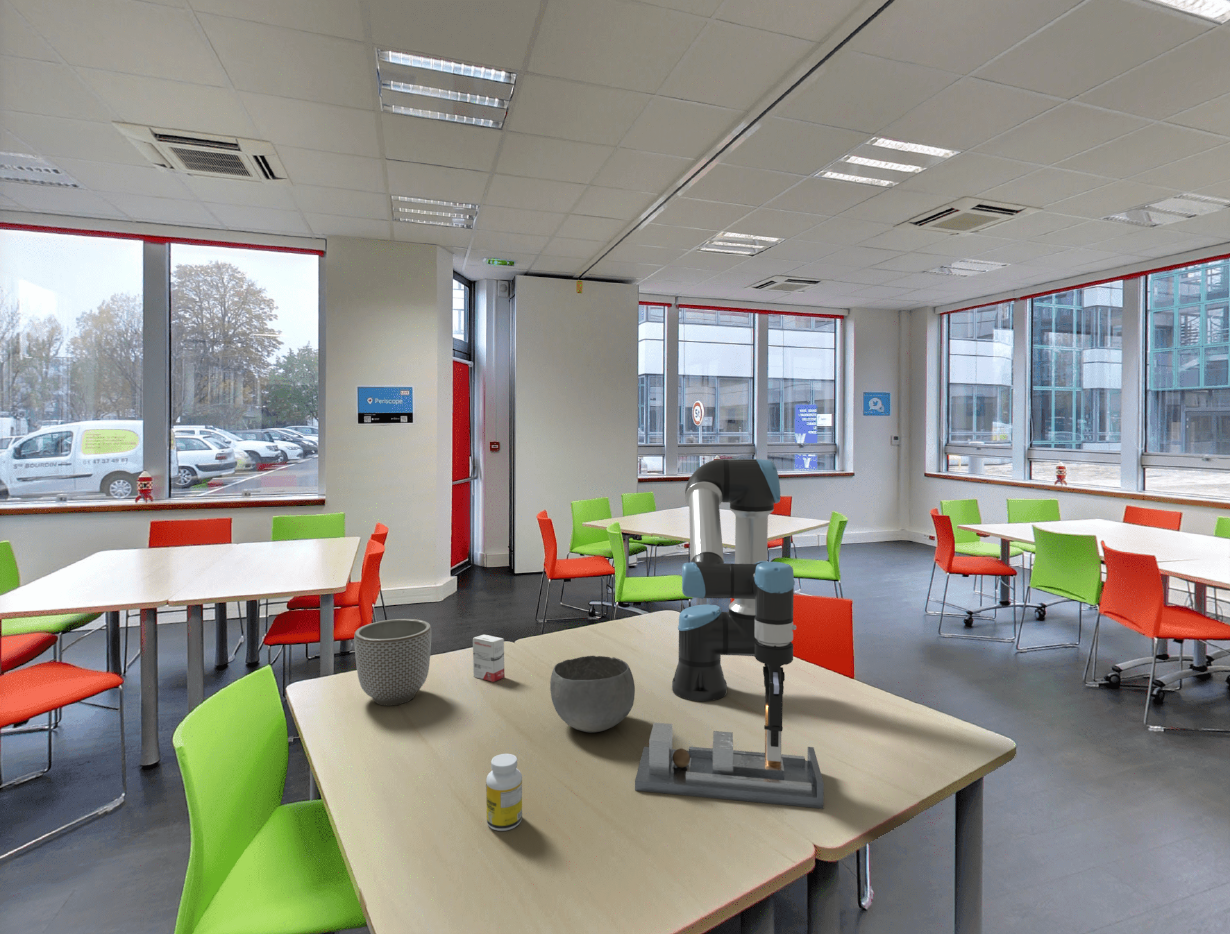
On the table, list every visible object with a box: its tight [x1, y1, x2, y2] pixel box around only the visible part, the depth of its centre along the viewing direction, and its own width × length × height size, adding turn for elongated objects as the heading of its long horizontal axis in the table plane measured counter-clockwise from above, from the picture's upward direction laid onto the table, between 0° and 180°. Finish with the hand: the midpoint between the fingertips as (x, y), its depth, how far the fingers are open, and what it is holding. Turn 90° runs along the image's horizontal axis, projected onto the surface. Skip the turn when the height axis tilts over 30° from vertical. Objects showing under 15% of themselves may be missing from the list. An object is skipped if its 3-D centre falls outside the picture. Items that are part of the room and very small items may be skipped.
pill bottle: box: [485, 753, 523, 832], centre depth 114 cm, size 6×6×12 cm
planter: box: [353, 618, 432, 706], centre depth 169 cm, size 20×20×19 cm
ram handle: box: [712, 703, 784, 780], centre depth 127 cm, size 14×8×14 cm, turn 80°
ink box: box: [472, 634, 505, 683], centre depth 184 cm, size 9×5×12 cm, turn 58°
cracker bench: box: [634, 722, 825, 810], centre depth 128 cm, size 36×14×9 cm, turn 80°
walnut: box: [673, 748, 690, 768], centre depth 129 cm, size 4×4×4 cm
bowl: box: [549, 655, 636, 734], centre depth 152 cm, size 20×20×15 cm
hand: (773, 755), depth 126 cm, fingers closed on ram handle, 3 cm apart
